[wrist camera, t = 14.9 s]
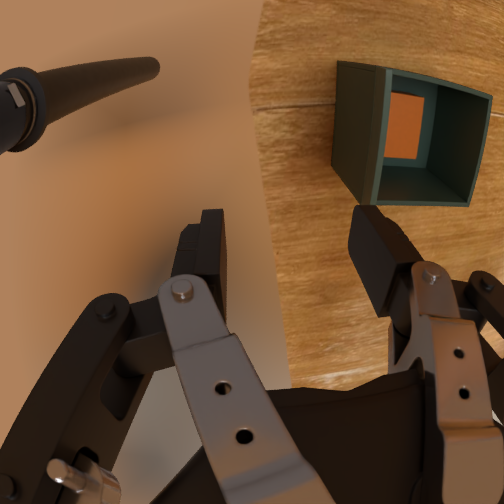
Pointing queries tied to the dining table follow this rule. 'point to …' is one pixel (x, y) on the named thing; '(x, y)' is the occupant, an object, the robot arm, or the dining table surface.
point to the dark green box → (430, 141)
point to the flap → (378, 134)
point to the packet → (404, 125)
